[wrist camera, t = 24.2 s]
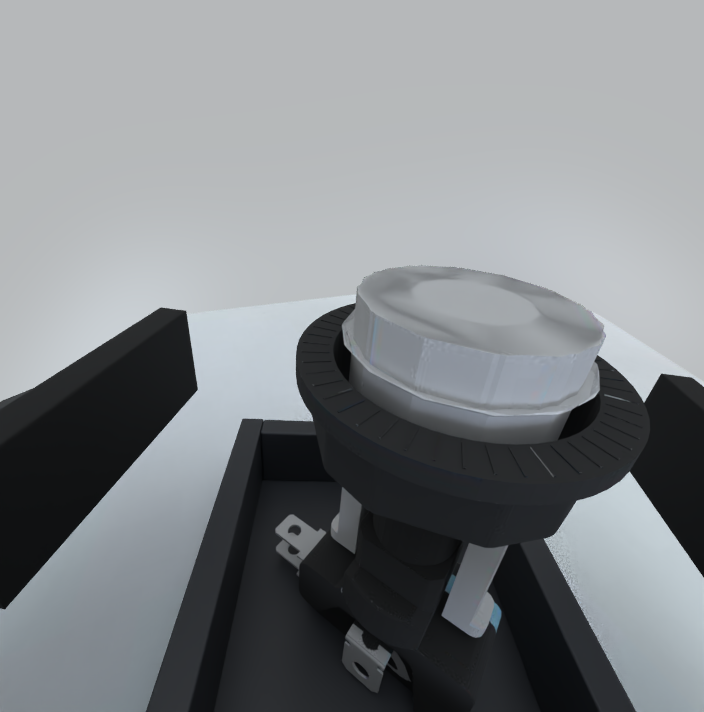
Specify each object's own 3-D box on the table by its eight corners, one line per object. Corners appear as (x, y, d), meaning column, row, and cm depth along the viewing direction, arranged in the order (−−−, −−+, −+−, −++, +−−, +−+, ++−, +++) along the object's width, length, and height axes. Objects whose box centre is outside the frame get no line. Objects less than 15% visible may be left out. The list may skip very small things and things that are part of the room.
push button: (218, 619, 10) (154, 272, 6) (332, 497, 14) (355, 231, 9) (438, 844, 7) (735, 507, 2) (506, 610, 11) (673, 302, 6)
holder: (93, 1062, 6) (23, 1080, 4) (246, 473, 16) (242, 418, 14) (677, 1004, 6) (794, 1003, 5) (466, 478, 16) (483, 426, 15)
